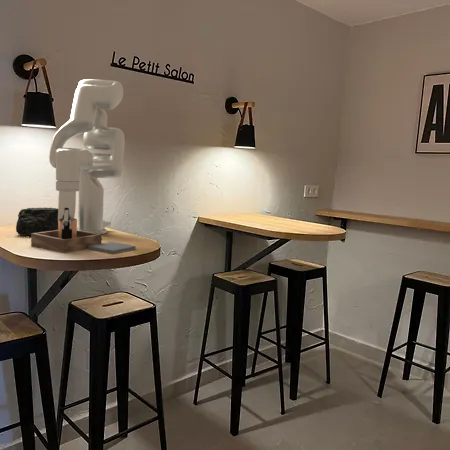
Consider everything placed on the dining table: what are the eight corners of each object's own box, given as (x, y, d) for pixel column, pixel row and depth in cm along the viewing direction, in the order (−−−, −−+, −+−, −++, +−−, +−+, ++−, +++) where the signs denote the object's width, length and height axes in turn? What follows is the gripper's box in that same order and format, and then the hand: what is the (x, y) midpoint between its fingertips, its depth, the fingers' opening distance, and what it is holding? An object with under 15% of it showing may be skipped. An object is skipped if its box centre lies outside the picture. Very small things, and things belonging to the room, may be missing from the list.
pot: (68, 239, 158) (68, 216, 156) (80, 242, 155) (80, 219, 153) (54, 242, 152) (54, 218, 151) (66, 245, 149) (66, 220, 148)
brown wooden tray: (69, 239, 164) (69, 228, 163) (101, 245, 156) (101, 234, 156) (31, 245, 150) (31, 233, 149) (64, 252, 142) (64, 240, 142)
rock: (22, 230, 177) (15, 236, 163) (22, 206, 176) (14, 210, 162) (69, 231, 182) (66, 236, 167) (69, 207, 181) (66, 210, 166)
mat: (111, 244, 160) (111, 241, 160) (135, 249, 154) (135, 246, 154) (88, 248, 150) (88, 245, 150) (112, 253, 145) (112, 250, 145)
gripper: (58, 183, 158) (58, 233, 160) (53, 188, 141) (53, 244, 144) (80, 184, 160) (80, 234, 162) (78, 189, 143) (77, 244, 146)
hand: (67, 238), depth 153 cm, fingers closed on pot, 6 cm apart
